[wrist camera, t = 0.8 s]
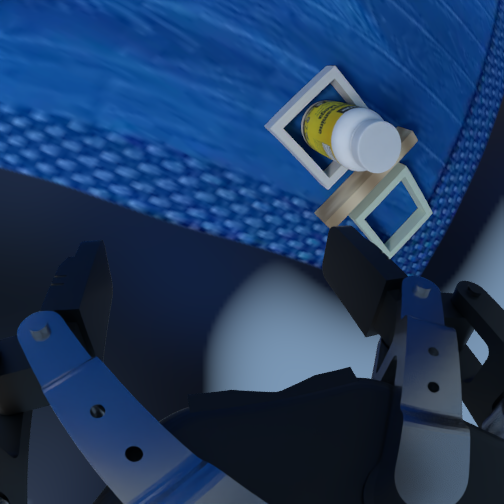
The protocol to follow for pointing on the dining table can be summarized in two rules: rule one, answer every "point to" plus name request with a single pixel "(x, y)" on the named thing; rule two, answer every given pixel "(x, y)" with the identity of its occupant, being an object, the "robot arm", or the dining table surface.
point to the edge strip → (358, 186)
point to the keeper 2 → (378, 194)
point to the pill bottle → (351, 136)
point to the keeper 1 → (297, 104)
